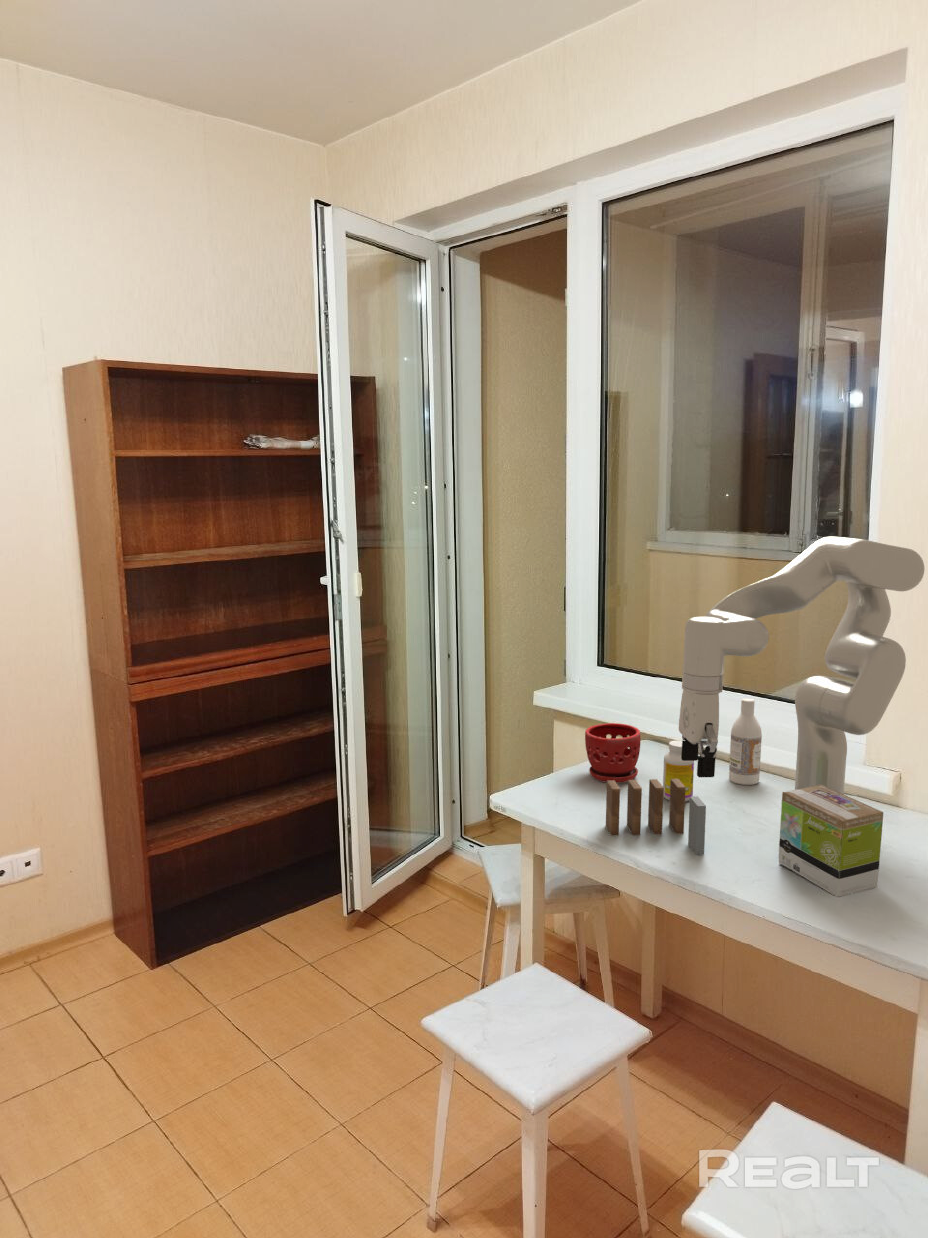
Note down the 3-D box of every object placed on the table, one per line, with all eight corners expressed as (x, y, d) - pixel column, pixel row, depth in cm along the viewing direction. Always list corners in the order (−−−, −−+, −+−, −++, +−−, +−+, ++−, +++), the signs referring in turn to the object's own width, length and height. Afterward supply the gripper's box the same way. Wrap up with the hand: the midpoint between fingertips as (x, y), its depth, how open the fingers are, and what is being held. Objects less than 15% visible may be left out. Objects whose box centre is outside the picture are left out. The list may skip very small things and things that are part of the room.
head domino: (696, 844, 179) (697, 796, 177) (704, 854, 174) (706, 805, 172) (688, 844, 179) (689, 796, 177) (695, 855, 174) (697, 806, 172)
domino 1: (613, 825, 188) (614, 780, 186) (618, 835, 183) (620, 788, 181) (605, 826, 188) (606, 780, 186) (611, 835, 183) (612, 789, 181)
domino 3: (655, 824, 188) (657, 779, 187) (662, 834, 184) (663, 787, 182) (648, 824, 188) (649, 779, 187) (654, 834, 183) (655, 788, 182)
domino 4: (676, 824, 189) (678, 778, 187) (683, 833, 184) (685, 787, 182) (669, 824, 189) (670, 778, 187) (676, 833, 184) (677, 787, 182)
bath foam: (750, 788, 209) (754, 705, 206) (723, 780, 214) (727, 699, 211) (764, 780, 214) (768, 699, 211) (738, 773, 219) (741, 694, 216)
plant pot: (606, 765, 226) (607, 719, 224) (650, 777, 217) (651, 729, 215) (573, 777, 217) (574, 729, 215) (617, 791, 208) (619, 741, 206)
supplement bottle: (695, 803, 200) (697, 748, 198) (665, 803, 200) (667, 748, 198) (688, 792, 207) (691, 739, 204) (660, 792, 207) (661, 739, 205)
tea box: (775, 864, 170) (780, 790, 167) (816, 855, 174) (821, 782, 171) (837, 899, 156) (842, 818, 153) (879, 888, 160) (886, 809, 157)
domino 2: (634, 825, 188) (635, 779, 187) (640, 835, 183) (641, 788, 182) (626, 825, 188) (628, 780, 186) (632, 835, 183) (634, 788, 182)
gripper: (669, 672, 179) (665, 754, 182) (697, 693, 162) (692, 784, 164) (706, 672, 179) (701, 754, 182) (738, 693, 162) (732, 783, 165)
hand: (697, 768), depth 173 cm, fingers open, 9 cm apart
